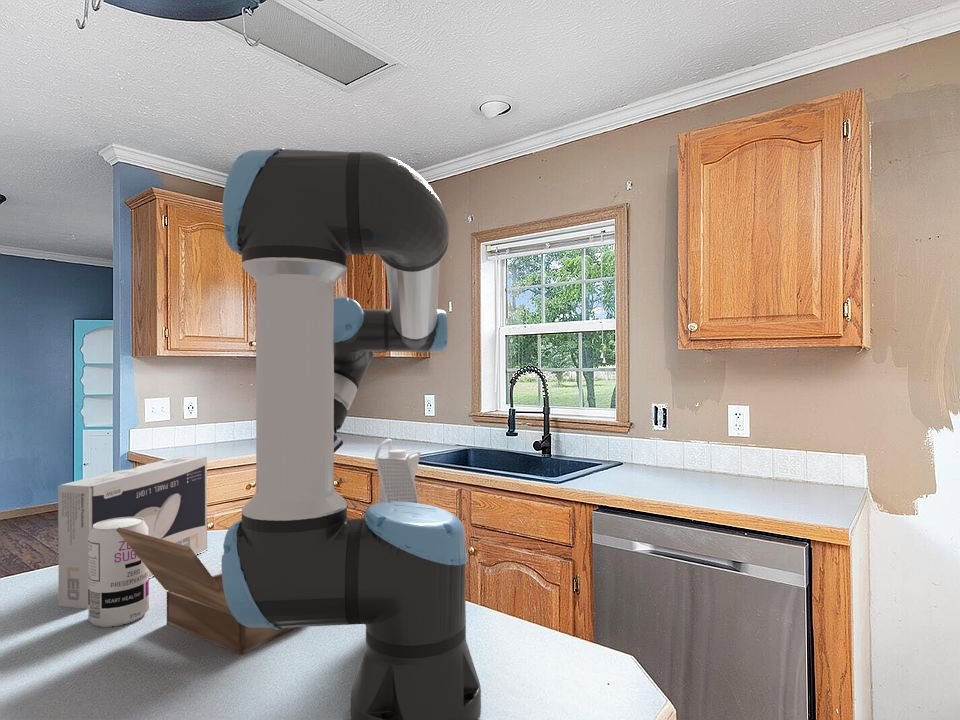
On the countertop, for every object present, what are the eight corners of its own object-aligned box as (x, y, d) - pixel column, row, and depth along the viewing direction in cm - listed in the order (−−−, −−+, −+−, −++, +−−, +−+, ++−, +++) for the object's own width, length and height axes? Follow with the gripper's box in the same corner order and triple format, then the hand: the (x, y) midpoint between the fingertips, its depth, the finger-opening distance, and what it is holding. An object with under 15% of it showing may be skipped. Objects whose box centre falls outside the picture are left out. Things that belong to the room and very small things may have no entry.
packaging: (89, 609, 100) (88, 486, 99) (58, 605, 101) (57, 485, 101) (208, 550, 129) (207, 456, 129) (182, 548, 130) (182, 455, 130)
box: (245, 593, 106) (245, 565, 105) (318, 617, 96) (318, 586, 96) (166, 624, 94) (166, 591, 94) (241, 654, 84) (241, 618, 84)
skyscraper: (362, 615, 97) (362, 439, 96) (410, 605, 101) (409, 435, 100) (381, 637, 89) (380, 446, 89) (431, 624, 93) (431, 442, 93)
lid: (167, 586, 93) (119, 527, 87) (238, 611, 84) (190, 547, 78) (165, 589, 93) (116, 529, 87) (236, 614, 84) (187, 550, 78)
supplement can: (110, 606, 100) (110, 515, 100) (159, 607, 100) (159, 516, 100) (76, 628, 92) (75, 529, 92) (129, 629, 92) (128, 530, 92)
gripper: (368, 413, 110) (314, 539, 98) (316, 413, 117) (260, 531, 104) (343, 391, 105) (283, 521, 93) (290, 392, 112) (228, 513, 99)
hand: (271, 526), depth 99 cm, fingers closed
